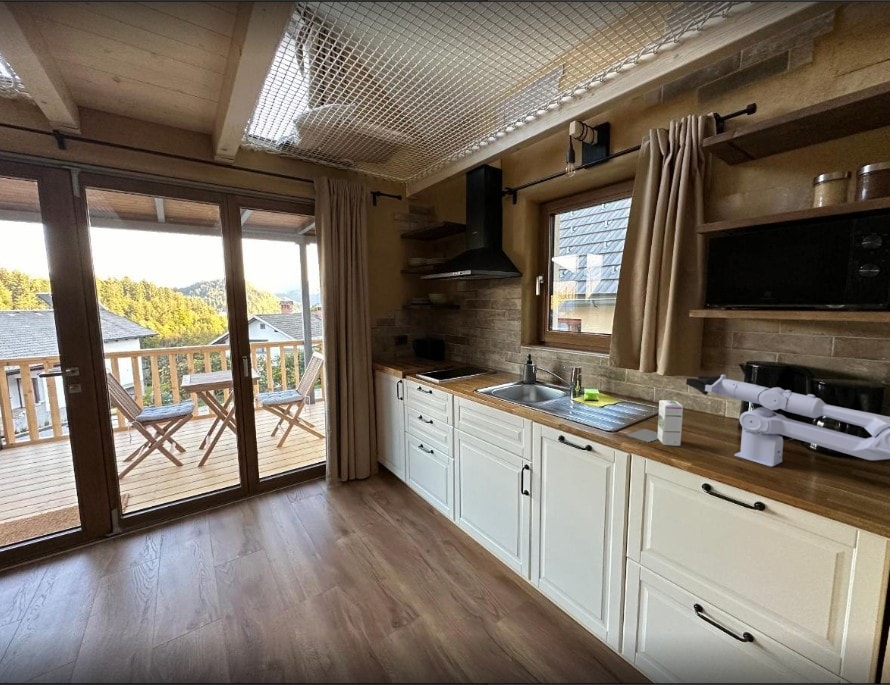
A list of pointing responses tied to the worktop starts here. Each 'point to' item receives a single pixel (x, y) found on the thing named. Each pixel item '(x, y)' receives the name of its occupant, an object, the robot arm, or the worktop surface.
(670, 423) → the syrup box
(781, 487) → the worktop surface
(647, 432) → the mat
